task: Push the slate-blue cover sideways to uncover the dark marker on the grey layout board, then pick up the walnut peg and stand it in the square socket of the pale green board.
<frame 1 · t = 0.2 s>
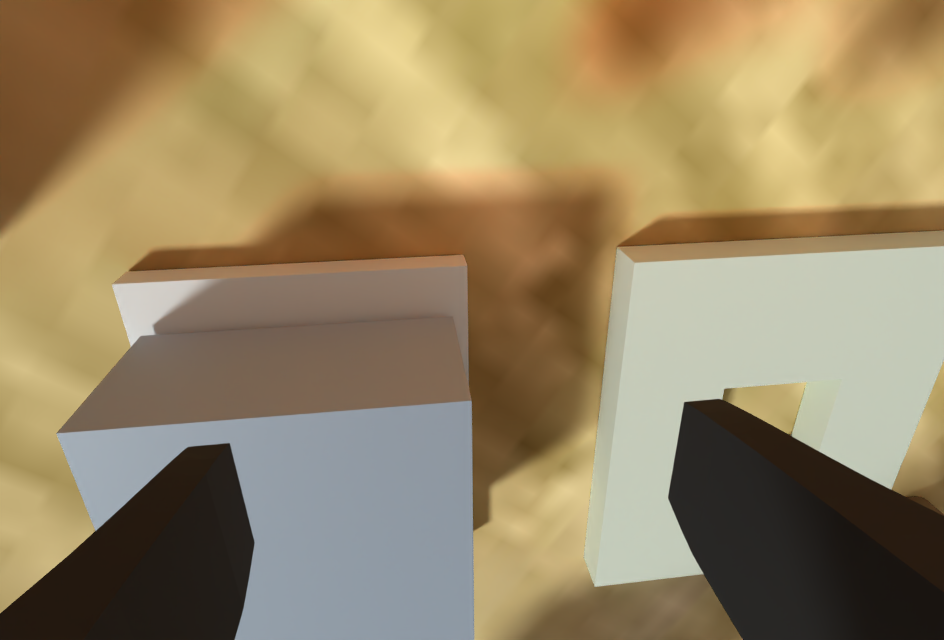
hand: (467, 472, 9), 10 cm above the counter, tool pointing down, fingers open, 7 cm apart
socket board: (747, 411, 22), on the counter
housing: (311, 497, 17), point 4 cm above the counter, slide at 0.0 cm
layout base: (324, 424, 20), on the counter
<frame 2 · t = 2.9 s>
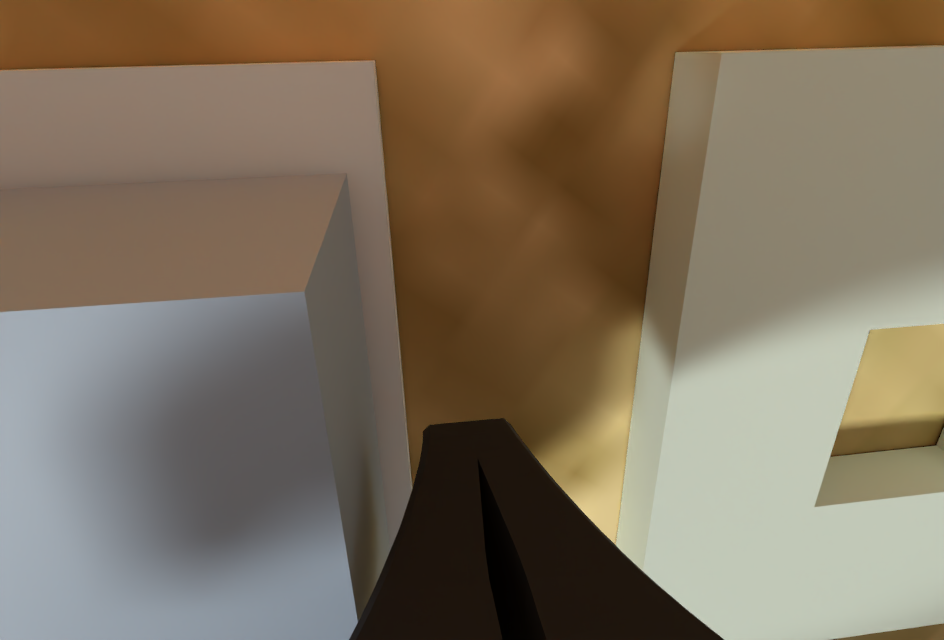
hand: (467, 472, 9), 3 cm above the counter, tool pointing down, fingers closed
socket board: (881, 378, 13), on the counter
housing: (44, 549, 8), point 4 cm above the counter, slide at 0.0 cm, touching gripper
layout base: (146, 404, 11), on the counter
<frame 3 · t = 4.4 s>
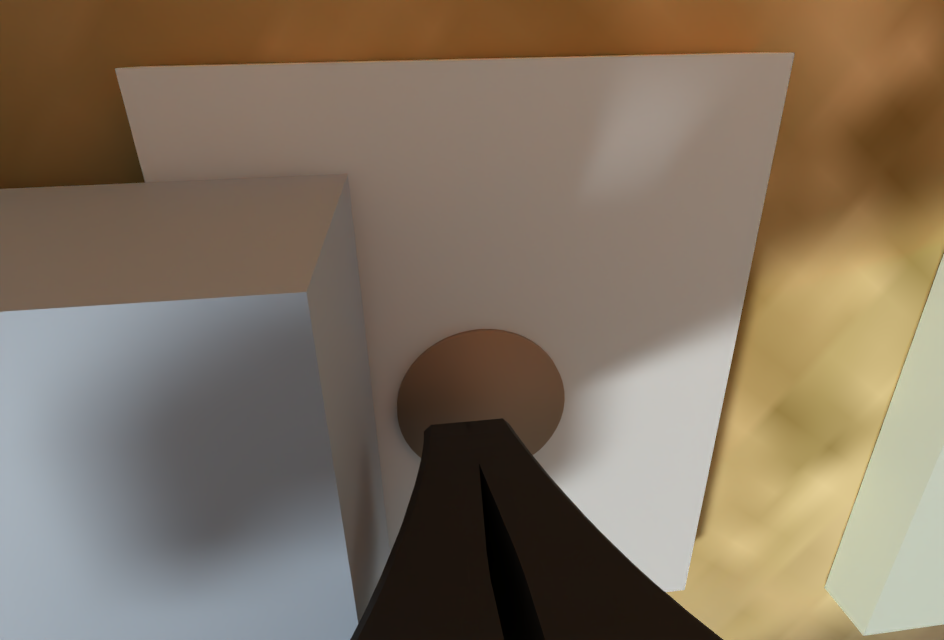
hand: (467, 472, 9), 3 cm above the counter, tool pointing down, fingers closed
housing: (44, 548, 8), point 4 cm above the counter, slide at 6.5 cm, touching gripper
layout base: (474, 376, 12), on the counter
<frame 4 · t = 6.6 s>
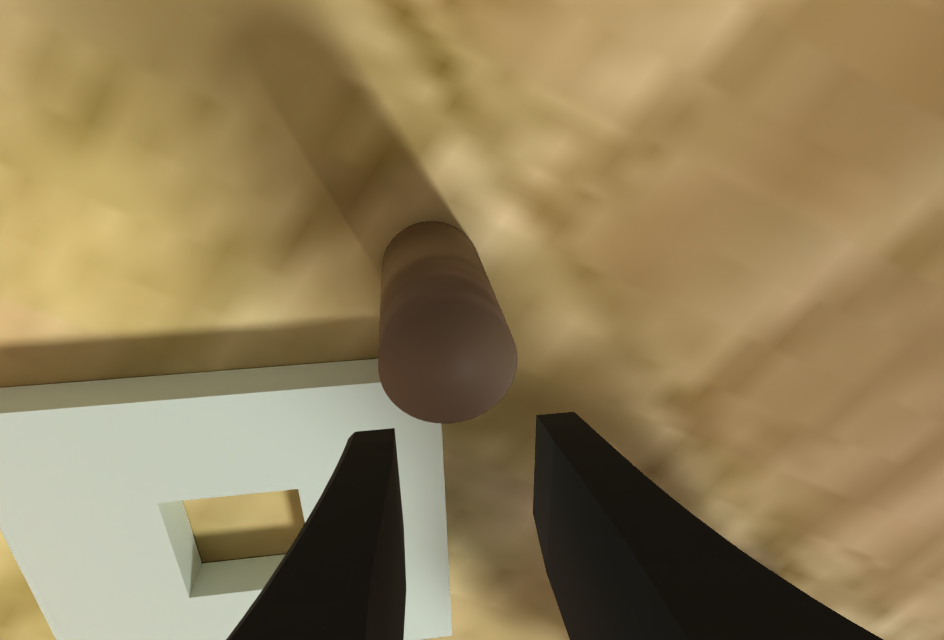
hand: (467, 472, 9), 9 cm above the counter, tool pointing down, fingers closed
socket board: (251, 513, 21), on the counter
peg: (431, 268, 18), on the counter
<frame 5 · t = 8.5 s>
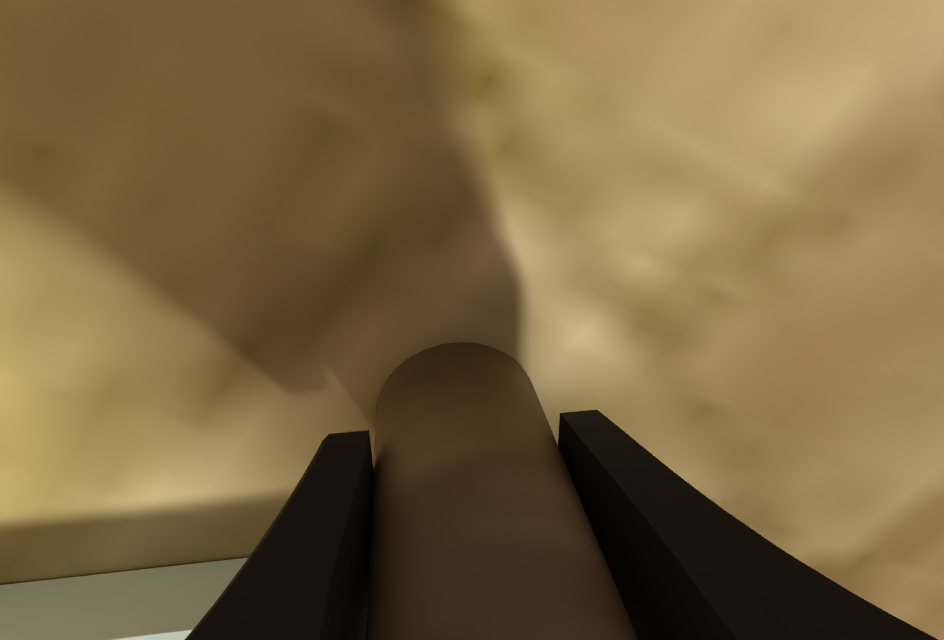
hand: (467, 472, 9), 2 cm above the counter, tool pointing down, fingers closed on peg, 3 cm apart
peg: (457, 414, 11), on the counter, touching gripper
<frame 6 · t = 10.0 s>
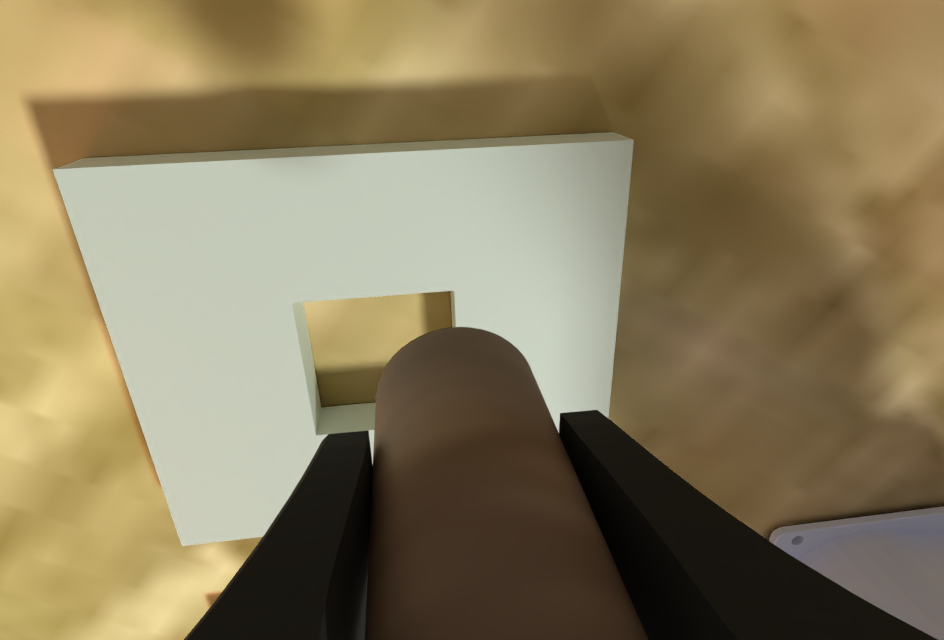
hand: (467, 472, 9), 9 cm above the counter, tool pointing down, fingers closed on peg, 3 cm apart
socket board: (382, 342, 18), on the counter
peg: (456, 398, 11), point 7 cm above the counter, touching gripper
when the fingers open (3 cm above the counter, at t = 11.7 s): peg drops 1 cm, resting in socket board.
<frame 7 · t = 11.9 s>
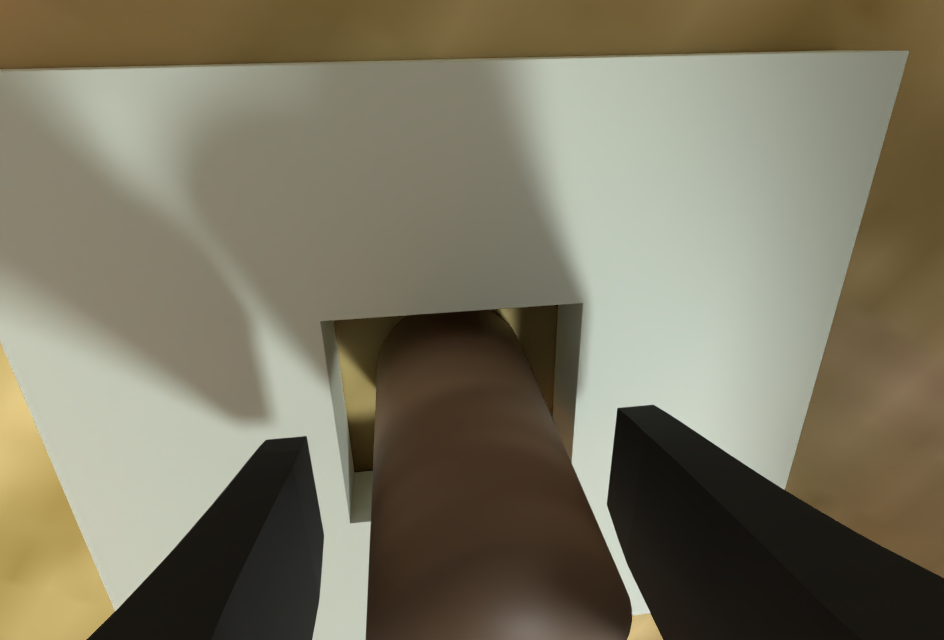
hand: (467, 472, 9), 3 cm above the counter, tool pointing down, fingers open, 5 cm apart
socket board: (451, 378, 12), on the counter
peg: (451, 368, 12), resting in socket board
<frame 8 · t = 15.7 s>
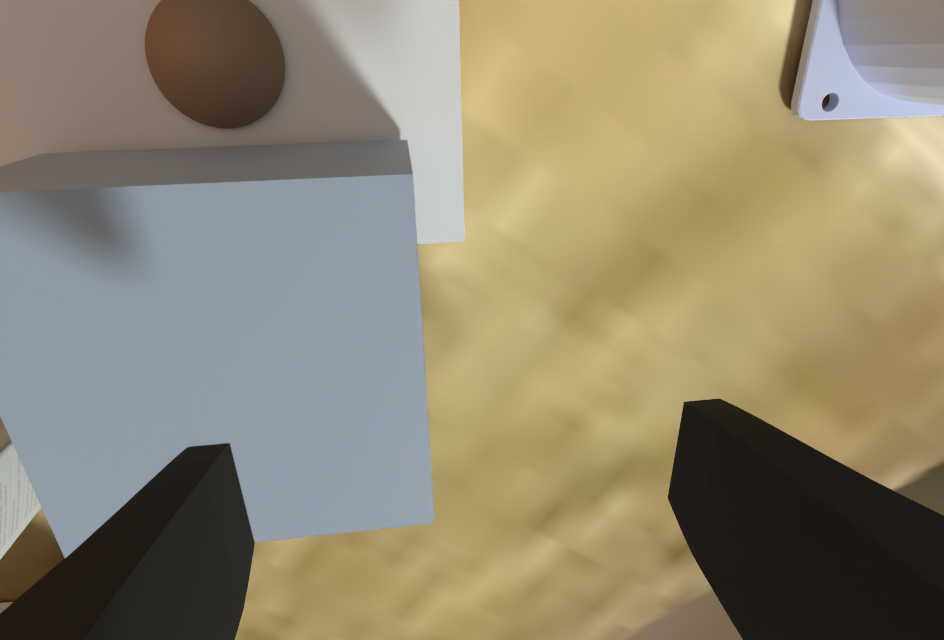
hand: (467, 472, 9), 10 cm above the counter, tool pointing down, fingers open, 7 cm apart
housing: (243, 342, 15), point 4 cm above the counter, slide at 6.5 cm
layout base: (228, 59, 15), on the counter
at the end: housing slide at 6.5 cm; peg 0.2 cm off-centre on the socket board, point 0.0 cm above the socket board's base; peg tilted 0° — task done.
